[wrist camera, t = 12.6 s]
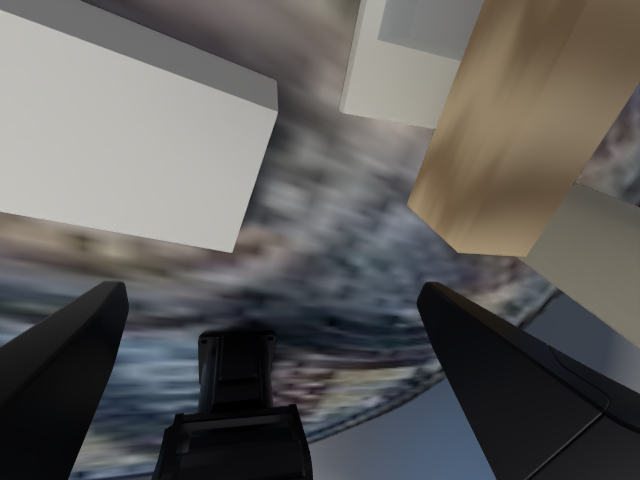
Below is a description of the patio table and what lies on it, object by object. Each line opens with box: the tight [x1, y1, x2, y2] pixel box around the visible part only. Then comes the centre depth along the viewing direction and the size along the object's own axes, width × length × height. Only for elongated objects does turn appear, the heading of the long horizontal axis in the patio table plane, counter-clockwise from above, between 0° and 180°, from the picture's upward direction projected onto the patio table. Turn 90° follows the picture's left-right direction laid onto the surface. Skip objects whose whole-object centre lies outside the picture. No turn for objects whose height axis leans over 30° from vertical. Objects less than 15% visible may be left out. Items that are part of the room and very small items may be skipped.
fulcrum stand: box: [339, 0, 484, 129], centre depth 15 cm, size 10×12×4 cm
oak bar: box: [407, 0, 640, 257], centre depth 11 cm, size 18×4×5 cm, turn 168°
